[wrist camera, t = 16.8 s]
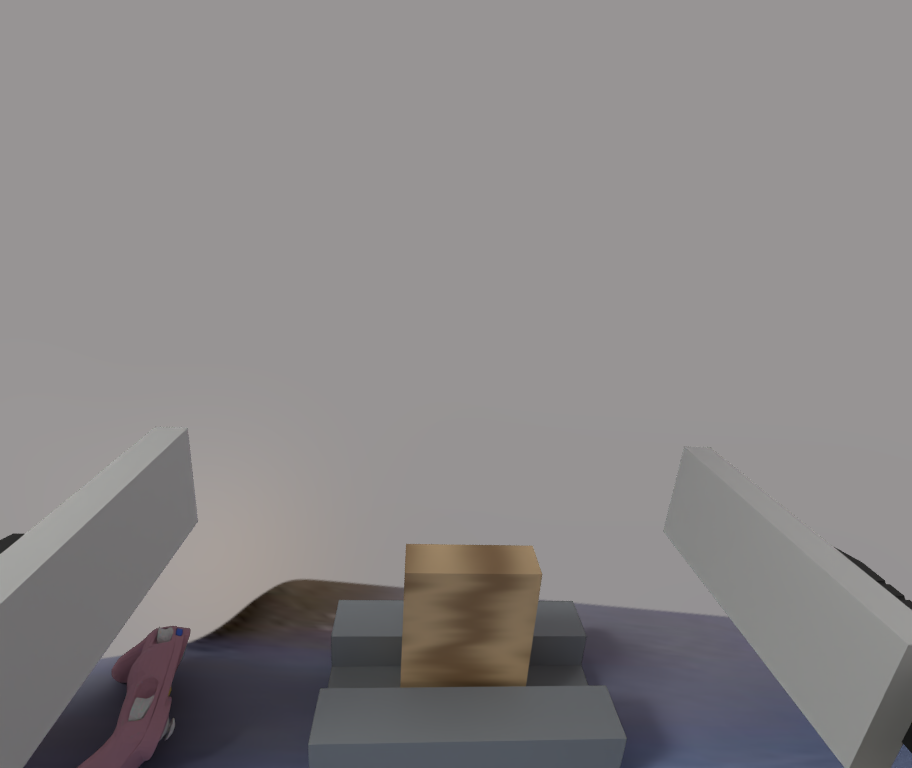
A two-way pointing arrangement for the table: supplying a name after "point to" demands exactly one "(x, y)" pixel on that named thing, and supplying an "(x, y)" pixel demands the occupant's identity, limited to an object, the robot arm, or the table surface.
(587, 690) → the grooved sill
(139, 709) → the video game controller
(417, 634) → the oak plank
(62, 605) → the robot arm
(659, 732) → the table surface
